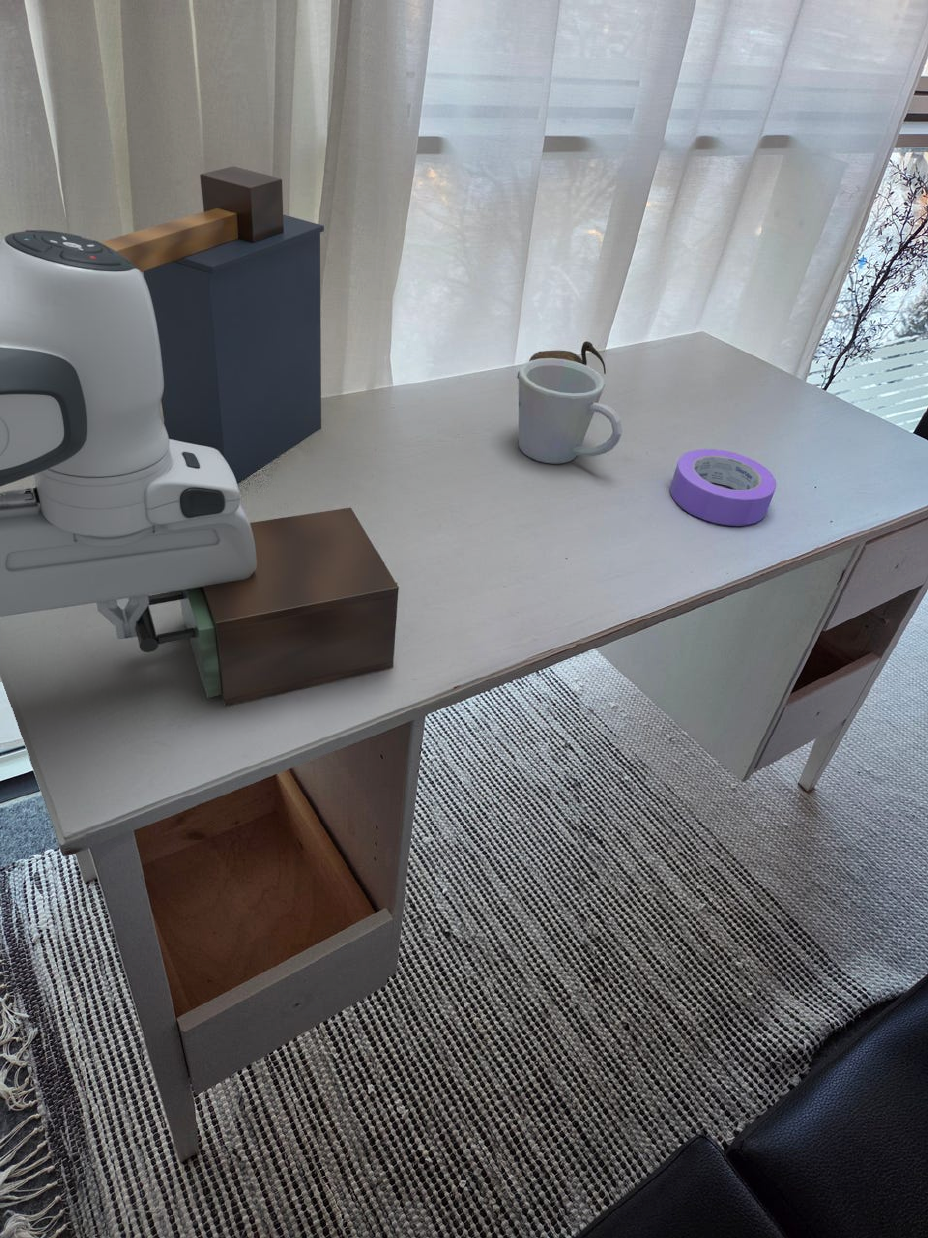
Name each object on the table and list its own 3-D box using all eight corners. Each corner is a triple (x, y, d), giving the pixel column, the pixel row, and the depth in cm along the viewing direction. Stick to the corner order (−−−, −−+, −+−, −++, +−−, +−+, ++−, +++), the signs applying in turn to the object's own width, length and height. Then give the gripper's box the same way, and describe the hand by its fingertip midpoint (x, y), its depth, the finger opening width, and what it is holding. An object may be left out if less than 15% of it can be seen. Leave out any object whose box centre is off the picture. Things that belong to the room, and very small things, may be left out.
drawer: (153, 710, 66) (139, 641, 61) (132, 623, 73) (118, 556, 68) (366, 661, 73) (369, 596, 68) (328, 586, 80) (328, 522, 75)
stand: (231, 491, 92) (211, 266, 76) (166, 466, 94) (135, 243, 79) (324, 429, 104) (324, 225, 89) (265, 407, 107) (255, 206, 92)
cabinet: (225, 707, 68) (215, 623, 62) (195, 614, 76) (184, 532, 70) (393, 668, 74) (399, 587, 68) (349, 585, 82) (350, 507, 76)
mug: (542, 421, 112) (555, 350, 106) (633, 468, 105) (653, 395, 99) (490, 444, 106) (501, 369, 99) (583, 496, 99) (601, 419, 92)
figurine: (607, 410, 117) (621, 350, 111) (585, 417, 115) (598, 356, 109) (538, 371, 125) (548, 313, 119) (516, 377, 122) (525, 318, 116)
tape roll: (662, 470, 106) (670, 443, 103) (752, 479, 106) (762, 452, 104) (679, 522, 97) (688, 494, 94) (777, 531, 97) (789, 503, 95)
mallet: (135, 285, 71) (125, 223, 68) (81, 268, 73) (69, 206, 69) (284, 232, 86) (282, 178, 83) (236, 218, 88) (233, 165, 84)
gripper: (-67, 524, 52) (-18, 685, 61) (261, 490, 60) (263, 635, 69) (-66, 474, 56) (-21, 631, 65) (240, 448, 65) (244, 590, 73)
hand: (128, 633), depth 67 cm, fingers closed, pressing on drawer
